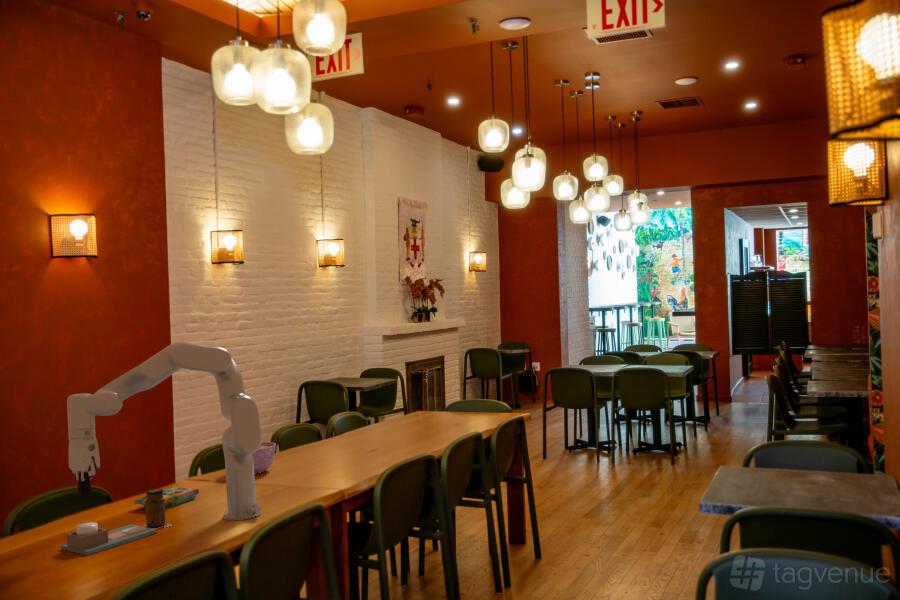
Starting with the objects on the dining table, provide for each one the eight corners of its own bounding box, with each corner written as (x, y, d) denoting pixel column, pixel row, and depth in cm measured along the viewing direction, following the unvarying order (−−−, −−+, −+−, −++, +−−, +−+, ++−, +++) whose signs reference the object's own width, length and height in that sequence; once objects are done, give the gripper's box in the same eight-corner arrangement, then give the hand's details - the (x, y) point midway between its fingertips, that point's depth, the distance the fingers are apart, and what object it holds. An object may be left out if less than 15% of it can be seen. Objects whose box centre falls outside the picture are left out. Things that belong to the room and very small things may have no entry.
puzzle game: (198, 486, 292) (155, 500, 275) (199, 499, 292) (156, 513, 275) (176, 484, 298) (133, 497, 280) (177, 496, 298) (134, 510, 280)
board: (157, 533, 248) (156, 517, 248) (87, 555, 228) (86, 539, 228) (131, 527, 256) (130, 513, 256) (61, 549, 236) (60, 533, 236)
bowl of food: (221, 477, 327) (220, 450, 327) (244, 467, 346) (243, 441, 346) (264, 478, 322) (262, 450, 322) (285, 467, 341) (284, 441, 341)
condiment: (161, 521, 262) (159, 486, 262) (173, 525, 256) (171, 490, 256) (140, 527, 256) (138, 491, 256) (152, 531, 251) (150, 494, 251)
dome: (102, 534, 237) (101, 523, 237) (83, 539, 232) (83, 529, 232) (91, 531, 240) (90, 521, 240) (72, 537, 235) (72, 526, 235)
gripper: (107, 433, 235) (110, 492, 235) (79, 430, 243) (82, 488, 243) (84, 437, 228) (87, 498, 228) (56, 434, 237) (59, 493, 237)
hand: (84, 493), depth 236 cm, fingers closed
